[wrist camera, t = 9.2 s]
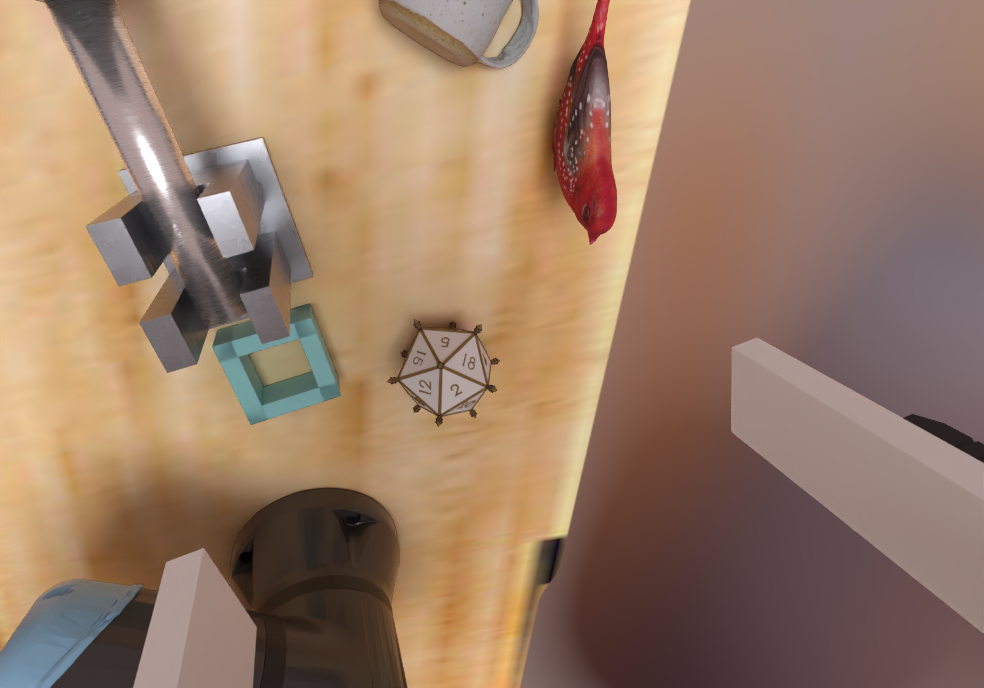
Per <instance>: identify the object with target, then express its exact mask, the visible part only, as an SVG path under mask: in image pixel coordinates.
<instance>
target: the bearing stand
mask: <svg viewBox="0 0 984 688" xmlns="http://www.w3.org/2000/svg"><path fill="white" fill-rule="evenodd" d="M183 157H184V159H185V161H186V163H187V166H188V168H189V170H190V173H191V175H192V177H193V179H194V182H195V184H196V186H197V188H198V191H199V193H200V196H199V197H198V198H197V200H198V203H199V205H200V207H201V209H202V212H203V214H204V216H205V218H206V221H207V223H208V225H209V227H210V230H211V232H212V234H213V236H214V239H215V241H216V243H217V245H218V247H219V250H220V252H221V254H222V256H223V258H227V257H228V258H229V261H230V263H231V265H232V268H233V270H234V272H235V274H236V277H237V279H238V281H239V283H240V286H241V291H240V297H241V299H242V301H243V303H244V306H245V308H246V310H247V313H245V314H244V315H243V316H241V317H239V318H237V319H235V320H233V321H230V322H227V323H224V324H220V325H214V326H207V325H204V324H203V322H202V320H201V318H200V316H199V314H198V312H197V310H196V308H195V306H194V304H193V301H192V299H191V297H190V295H189V293H188V291H187V289H186V287H185V285H184V283H183V281H182V279H181V277H180V275H179V273H178V271H177V269H176V267H175V265H174V263H173V261H172V259H171V257H170V255H169V253H168V251H167V249H166V247H165V245H164V243H163V241H162V239H161V237H160V235H159V233H158V231H157V229H156V227H155V225H154V223H153V221H152V219H151V217H150V215H149V213H148V211H147V209H146V207H145V205H144V203H143V201H142V199H141V197H140V195H139V193H138V191H137V188H136V186H135V184H134V182H133V180H132V178H131V176H130V174H129V172H128V170H127V169H122V170H120V171H118V173H119V175H120V177H121V179H122V181H123V183H124V185H125V187H126V189H127V191H128V193H129V196H127V197H126V198H124V199H123V200H122V201H120V202H119V203H118V204H116V205H115V206H113V207H112V208H111V209H109V210H108V211H106V212H105V213H104V214H102V215H101V216H99V217H98V218H97V219H95V220H94V221H92V222H91V223H90V224H88V225H87V226H85V227H86V228H87V230H88V232H89V234H90V235H91V237H92V239H93V241H94V243H95V244H96V246H97V248H98V250H99V252H100V253H101V255H102V257H103V259H104V261H105V262H106V264H107V266H108V268H109V269H110V271H111V273H112V275H113V277H114V278H115V280H116V282H117V284H118V286H122V285H126V284H130V283H133V282H137V281H141V280H145V279H148V278H152V276H153V275H154V274H155V272H156V271H157V269H158V268H159V267H160V265H161V264H162V262H164V264H165V266H166V268H167V270H168V272H169V274H170V275H169V277H168V278H167V280H166V281H165V283H164V284H163V286H162V288H161V289H160V291H159V292H158V294H157V296H156V297H155V299H154V300H153V302H152V303H151V305H150V307H149V308H148V310H147V311H146V313H145V315H144V316H143V318H142V319H141V321H140V322H139V323H140V325H141V327H142V328H143V330H144V332H145V334H146V336H147V337H148V339H149V341H150V343H151V345H152V346H153V348H154V350H155V352H156V354H157V355H158V357H159V359H160V361H161V362H162V364H163V366H164V368H165V370H166V371H167V373H169V372H172V371H175V370H179V369H182V368H185V367H189V366H192V365H195V364H197V362H198V359H199V356H200V353H201V350H202V348H203V345H204V342H205V339H206V336H207V333H208V330H209V329H211V328H215V327H218V326H221V325H225V324H228V323H232V322H235V321H239V320H242V319H246V318H249V317H250V319H251V321H252V324H253V326H254V328H255V330H256V333H257V335H258V337H259V339H260V342H261V344H265V343H269V342H272V341H275V340H279V339H282V338H285V337H289V336H290V294H291V283H293V282H296V281H300V280H304V279H307V278H311V277H313V272H312V270H311V267H310V264H309V262H308V259H307V256H306V253H305V251H304V248H303V245H302V243H301V240H300V237H299V234H298V232H297V229H296V226H295V224H294V221H293V218H292V215H291V213H290V210H289V207H288V205H287V202H286V199H285V196H284V194H283V191H282V188H281V186H280V183H279V180H278V177H277V175H276V172H275V169H274V166H273V164H272V161H271V158H270V156H269V153H268V150H267V147H266V145H265V142H264V139H263V137H261V138H257V139H253V140H248V141H244V142H240V143H235V144H231V145H227V146H222V147H218V148H213V149H209V150H205V151H200V152H196V153H192V154H187V155H183Z"/></svg>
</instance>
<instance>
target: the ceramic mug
mask: <svg viewBox="0 0 984 688" xmlns="http://www.w3.org/2000/svg"><path fill="white" fill-rule="evenodd" d="M512 1H513V0H379V7H380V10H381V13H382V15H383V16H384V17H385V18H386V19H387V20H388V21H389V22H390V23H391V24H393V25H394V26H395V27H397V28H398V29H399V30H401V31H402V32H403V33H405V34H406V35H408V36H409V37H410V38H412V39H414V40H415V41H417V42H418V43H420V44H421V45H423V46H425V47H426V48H428V49H429V50H431V51H433V52H434V53H436V54H438V55H440V56H441V57H443V58H445V59H447V60H449V61H451V62H453V63H455V64H457V65H460V66H466V67H467V66H470V65H473V64H475V63H476V62H480V63H482V64H484V65H487V66H490V67H495V68H504V67H507V66H510V65H512V64H513V63H515V62H516V61H517V60H518V59H519V58H520V57H521V56H522V55H523V54H524V53H525V51H526V50H527V48H528V47H529V45H530V43H531V42H532V39H533V37H534V35H535V32H536V29H537V24H538V17H539V8H538V1H537V0H522V3H523V15H522V19H521V24H520V25H519V28H518V29H517V31H516V33H515V34H514V36H513V38H512V39H511V41H510V42H509V44H508V45H507V46H506V47H505V48H504V50H503V52H502V54H501V55H499V56H497V57H492V58H486V57H484V56H483V55H482V54H483V53H484V52H485V50H486V49H487V47H488V46H489V44H490V43H491V41H492V39H493V37H494V35H495V34H496V31H497V29H498V27H499V25H500V23H501V21H502V19H503V17H504V15H505V13H506V11H507V10H508V8H509V6H510V4H511V3H512Z"/></svg>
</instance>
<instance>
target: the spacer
mask: <svg viewBox="0 0 984 688" xmlns="http://www.w3.org/2000/svg"><path fill="white" fill-rule="evenodd" d="M296 339H300V342H301V344H302V347H303V349H304V352H305V354H306V357H307V359H308V362H309V364H310V367H311V369H312V372H309V373H306V374H303V375H300V376H297V377H293V378H290V379H287V380H284V381H281V382H277V383H274V384H271V385H268V386H264V387H263V385H262V383H261V380H260V378H259V376H258V374H257V372H256V370H255V367H254V365H253V363H252V361H251V359H250V357H249V354H250V353H253V352H256V351H260V350H263V349H266V348H270V347H273V346H276V345H280V344H283V343H286V342H290V341H293V340H296ZM212 348H213V350H214V352H215V354H216V356H217V358H218V360H219V362H220V364H221V366H222V368H223V370H224V372H225V374H226V376H227V378H228V380H229V382H230V384H231V386H232V388H233V390H234V392H235V394H236V396H237V398H238V400H239V402H240V404H241V406H242V408H243V410H244V412H245V414H246V416H247V418H248V420H249V422H250V424H251V425H252V424H255V423H258V422H261V421H264V420H267V419H271V418H274V417H277V416H280V415H283V414H286V413H289V412H292V411H295V410H298V409H301V408H305V407H308V406H311V405H314V404H317V403H320V402H323V401H326V400H329V399H332V398H336V397H339V396H341V394H340V387H339V380H338V376H337V374H336V371H335V368H334V366H333V363H332V361H331V358H330V355H329V353H328V350H327V347H326V345H325V342H324V339H323V337H322V334H321V332H320V329H319V326H318V324H317V321H316V318H315V316H314V313H313V310H312V308H311V305H310V304H306V305H303V306H300V307H296V308H293V309H290V336H289V337H285V338H282V339H279V340H275V341H272V342H269V343H265V344H261V342H260V339H259V337H258V335H257V333H256V330H255V328H254V326H253V324H252V321H248V322H244V323H241V324H237V325H234V326H230V327H227V328H223V329H220V330H217V333H216V336H215V339H214V343H213V346H212Z"/></svg>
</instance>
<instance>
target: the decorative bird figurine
mask: <svg viewBox="0 0 984 688" xmlns="http://www.w3.org/2000/svg"><path fill="white" fill-rule="evenodd" d="M609 1H610V0H598V2H597V5H596V9H595V13H594V16H593V20H592V24H591V27H590V29H589V32H588V35H587V37H586V40H585V42H584V44H583V45H582V47H581V49H580V51H579V53H578V55H577V57H576V58H575V60H574V62H573V64H572V66H571V69H570V73H569V76H568V80H567V84H566V87H565V90H564V93H563V96H562V100H561V99H560V101H559V102H560V103H559V105H560V106H559V111H558V112H557V123H556V124H555V132H554V137H553V151H554V171H555V168H556V167H557V174H558V179H559V182H560V186H561V189H562V192H563V195H564V197H565V199H566V201H567V203H568V204H569V206H570V207H571V208H572V210H573V212H574V213H575V215H576V217H577V219H578V221H579V222H580V223H581V225H582V226H583V227H584V228H585V229H586V230H587V232H588V236H589V242H590V245H591V244H592V243H593V242H595V241H596V239H597V238H598V237H599V236H600V235H601V234H603V233H606V232H607V231H608V230H610V228H611V227H612V226H613V224H614V221H615V218H616V213H617V190H616V184H615V179H614V175H613V171H612V164H611V103H610V88H609V78H608V69H607V61H606V56H605V50H604V34H605V26H606V20H607V13H608V6H609Z"/></svg>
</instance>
